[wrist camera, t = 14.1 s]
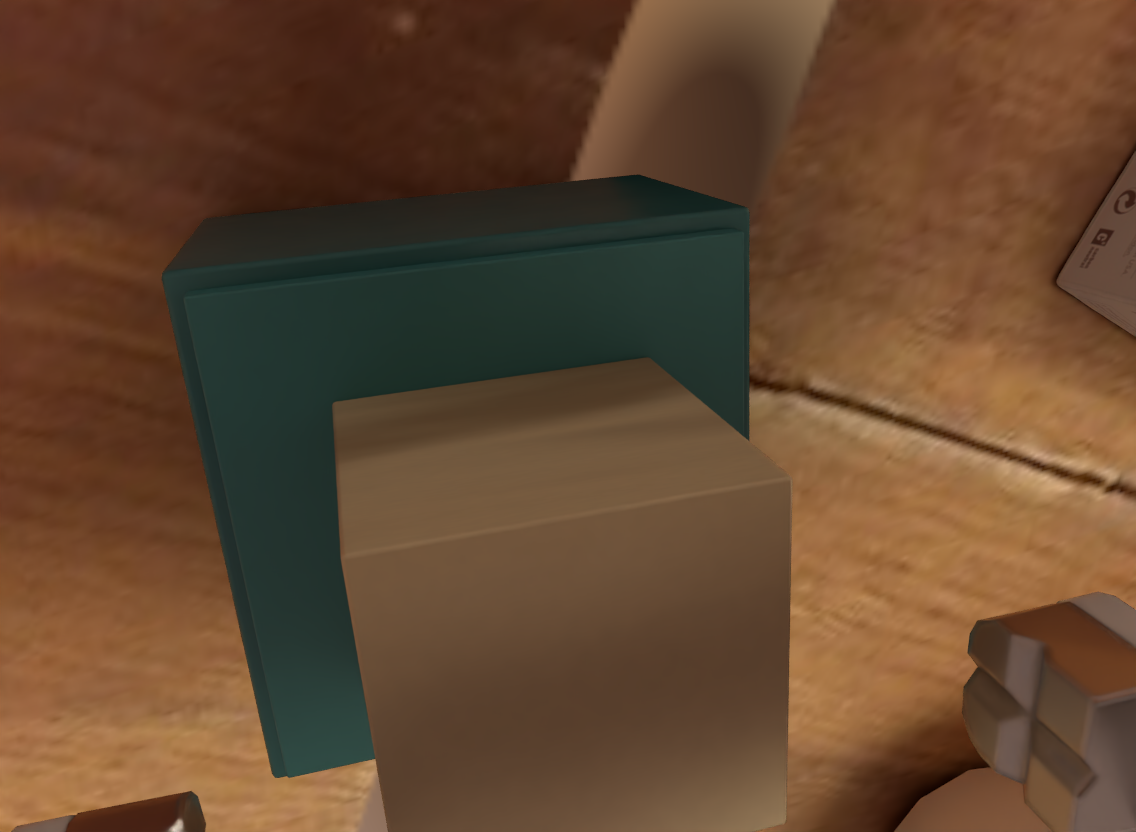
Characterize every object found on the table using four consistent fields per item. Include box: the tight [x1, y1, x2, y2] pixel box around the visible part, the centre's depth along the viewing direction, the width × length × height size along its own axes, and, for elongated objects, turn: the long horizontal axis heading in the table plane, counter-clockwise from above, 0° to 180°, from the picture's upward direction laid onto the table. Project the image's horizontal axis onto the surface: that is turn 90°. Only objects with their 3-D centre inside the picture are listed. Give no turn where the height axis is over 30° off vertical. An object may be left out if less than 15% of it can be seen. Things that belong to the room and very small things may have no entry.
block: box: [332, 357, 792, 832], centre depth 13 cm, size 5×5×5 cm
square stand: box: [161, 175, 749, 778], centre depth 18 cm, size 9×9×6 cm
